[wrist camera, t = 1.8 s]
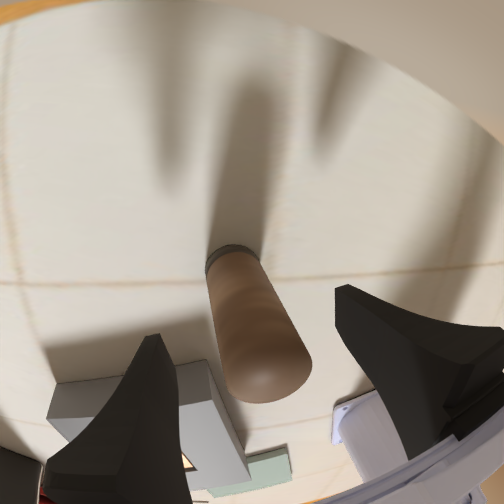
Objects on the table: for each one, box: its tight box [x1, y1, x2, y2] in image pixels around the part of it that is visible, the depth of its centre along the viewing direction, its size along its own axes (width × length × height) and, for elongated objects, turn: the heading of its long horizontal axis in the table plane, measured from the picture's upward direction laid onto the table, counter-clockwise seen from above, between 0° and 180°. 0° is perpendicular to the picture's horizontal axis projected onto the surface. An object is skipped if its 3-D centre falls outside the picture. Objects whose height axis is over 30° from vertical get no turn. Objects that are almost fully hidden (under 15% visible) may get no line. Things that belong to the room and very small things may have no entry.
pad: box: [206, 448, 292, 498], centre depth 27 cm, size 10×9×1 cm
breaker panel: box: [46, 360, 252, 491], centre depth 20 cm, size 12×14×4 cm
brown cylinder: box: [205, 245, 312, 404], centre depth 13 cm, size 3×3×8 cm
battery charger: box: [0, 448, 44, 504], centre depth 16 cm, size 7×4×11 cm, turn 72°
